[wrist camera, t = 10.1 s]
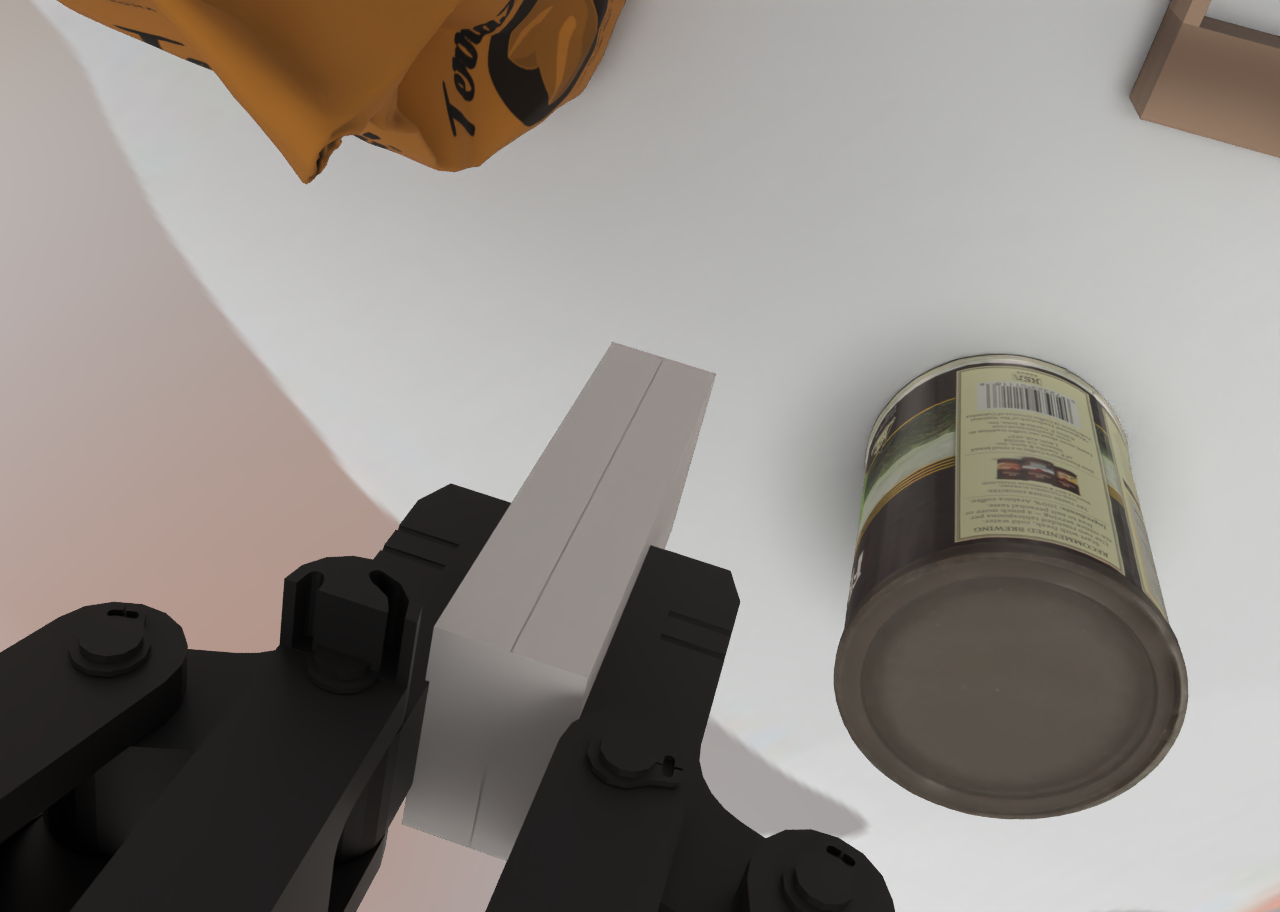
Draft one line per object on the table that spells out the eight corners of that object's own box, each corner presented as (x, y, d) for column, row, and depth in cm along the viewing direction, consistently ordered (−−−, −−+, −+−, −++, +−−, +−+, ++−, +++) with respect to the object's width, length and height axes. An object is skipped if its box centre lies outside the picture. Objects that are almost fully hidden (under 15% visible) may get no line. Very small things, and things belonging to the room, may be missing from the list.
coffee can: (899, 593, 52) (879, 835, 40) (836, 384, 48) (793, 584, 36) (1153, 554, 49) (1213, 808, 37) (1106, 325, 45) (1158, 525, 33)
